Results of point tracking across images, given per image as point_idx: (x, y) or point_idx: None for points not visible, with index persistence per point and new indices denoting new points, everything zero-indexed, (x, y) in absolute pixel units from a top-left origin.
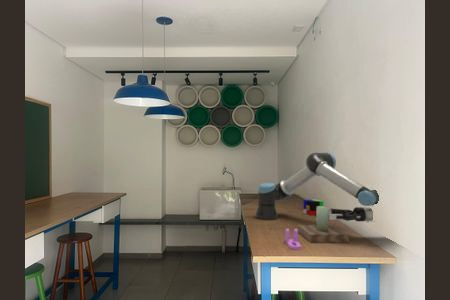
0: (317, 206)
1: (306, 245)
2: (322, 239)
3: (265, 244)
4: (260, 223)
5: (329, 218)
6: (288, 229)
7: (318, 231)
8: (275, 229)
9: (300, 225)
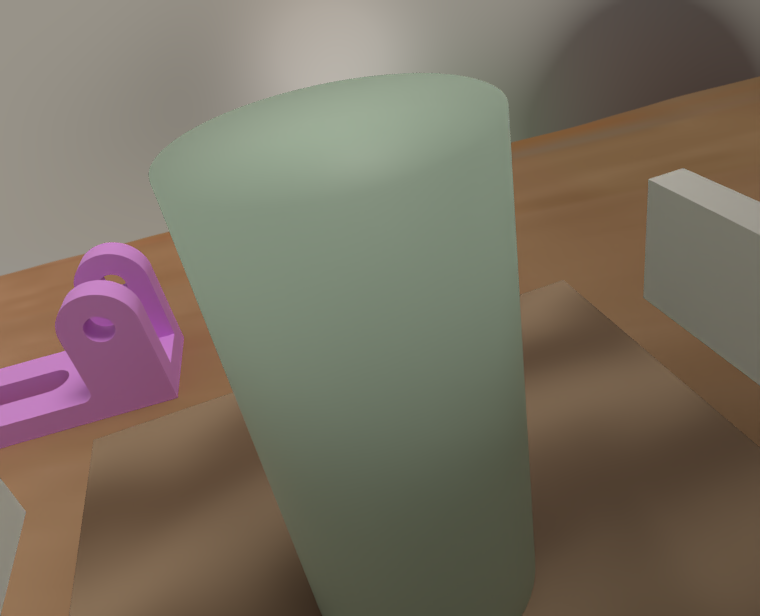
0: (388, 78)
1: (33, 487)
2: None
3: (106, 279)
4: (696, 132)
5: (11, 496)
6: (85, 259)
7: (260, 512)
8: (555, 222)
9: (552, 299)
